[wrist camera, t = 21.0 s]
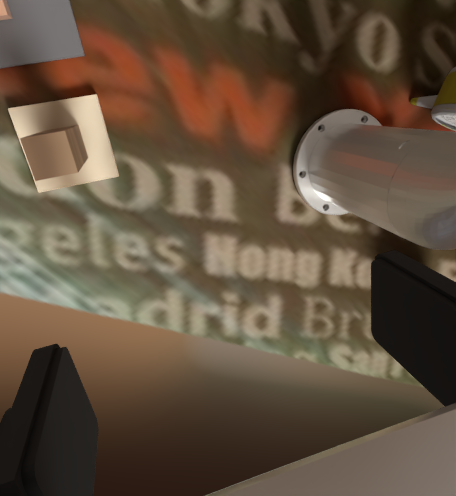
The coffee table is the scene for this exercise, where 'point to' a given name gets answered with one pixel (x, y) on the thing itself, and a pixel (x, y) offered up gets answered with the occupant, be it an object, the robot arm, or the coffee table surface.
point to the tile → (4, 10)
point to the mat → (38, 33)
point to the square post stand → (65, 142)
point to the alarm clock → (442, 102)
